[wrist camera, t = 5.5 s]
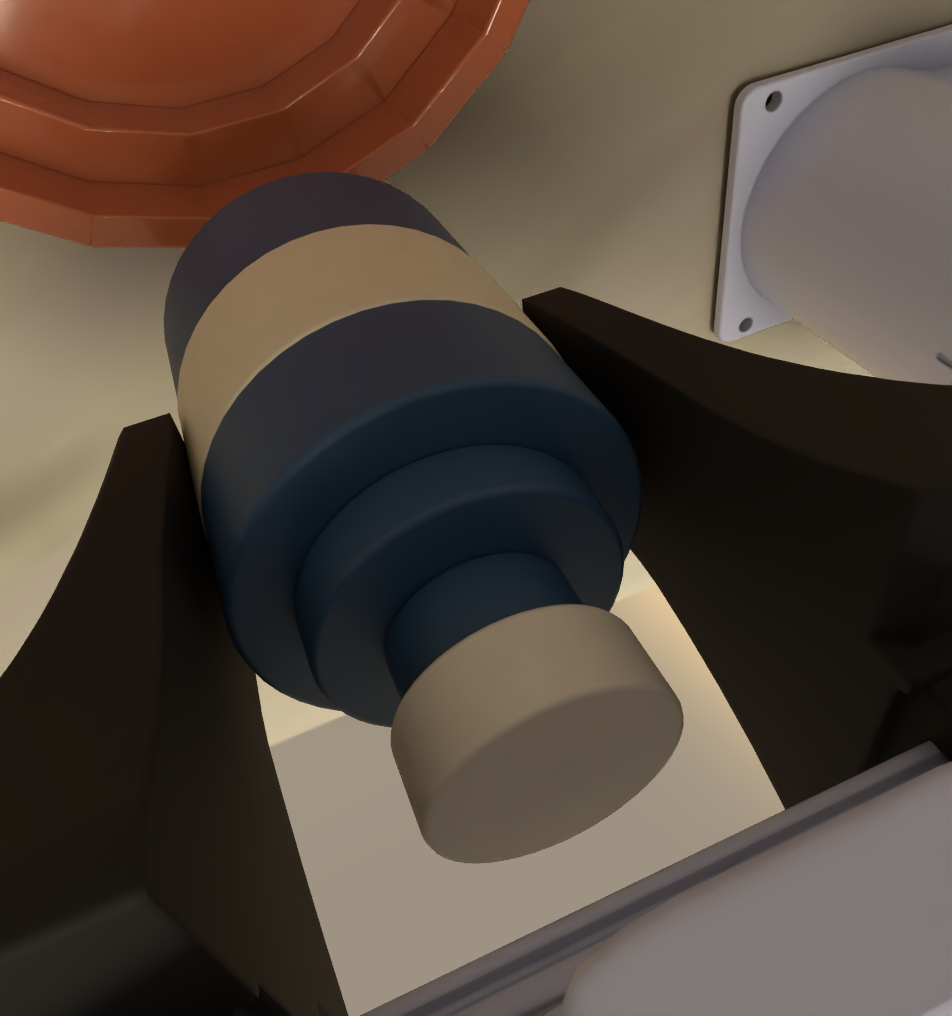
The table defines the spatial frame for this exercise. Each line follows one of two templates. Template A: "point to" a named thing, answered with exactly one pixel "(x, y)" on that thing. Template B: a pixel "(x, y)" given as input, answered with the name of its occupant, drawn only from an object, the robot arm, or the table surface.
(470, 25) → the terracotta bowl
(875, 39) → the table surface
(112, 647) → the robot arm
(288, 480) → the bottle
